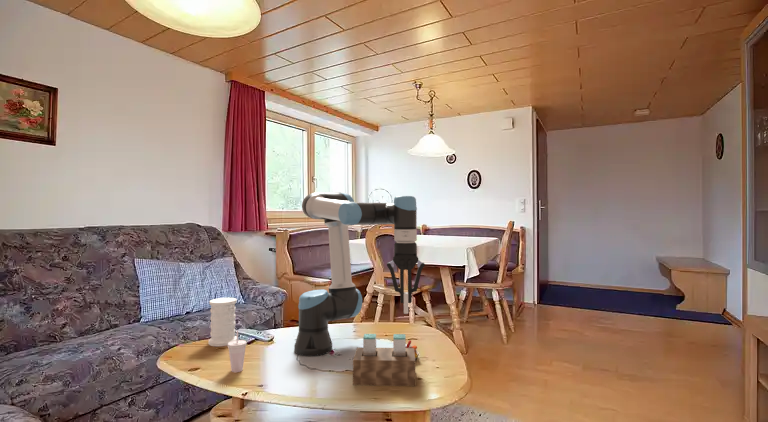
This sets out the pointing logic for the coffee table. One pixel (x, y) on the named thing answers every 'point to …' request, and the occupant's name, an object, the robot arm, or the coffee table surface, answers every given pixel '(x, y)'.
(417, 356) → the rainbow disc car
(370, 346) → the peg
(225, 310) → the decorative container
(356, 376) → the socket block
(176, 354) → the coffee table surface
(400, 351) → the peg
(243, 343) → the smoothie
